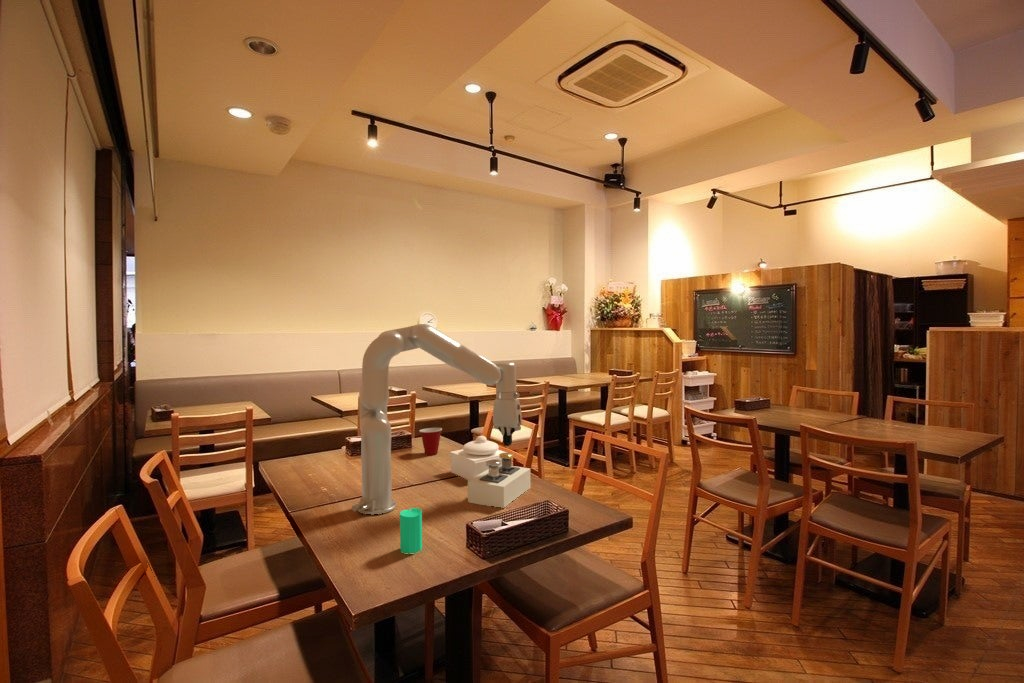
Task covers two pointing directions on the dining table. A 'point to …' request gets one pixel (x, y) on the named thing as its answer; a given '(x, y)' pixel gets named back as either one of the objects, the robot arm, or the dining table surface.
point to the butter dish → (474, 457)
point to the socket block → (499, 487)
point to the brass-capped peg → (506, 461)
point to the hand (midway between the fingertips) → (507, 445)
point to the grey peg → (493, 468)
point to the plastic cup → (431, 440)
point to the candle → (411, 530)
